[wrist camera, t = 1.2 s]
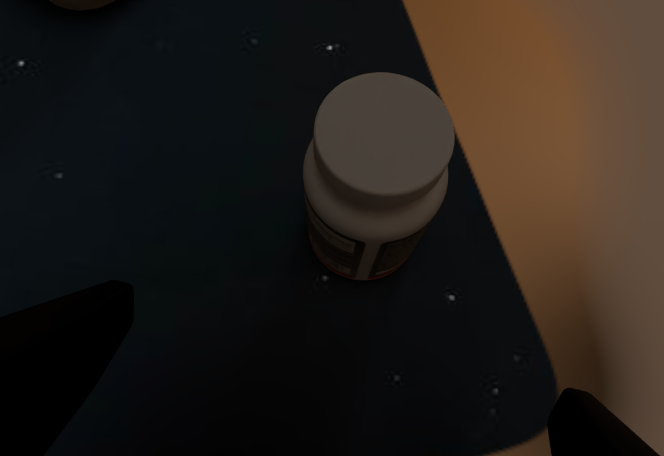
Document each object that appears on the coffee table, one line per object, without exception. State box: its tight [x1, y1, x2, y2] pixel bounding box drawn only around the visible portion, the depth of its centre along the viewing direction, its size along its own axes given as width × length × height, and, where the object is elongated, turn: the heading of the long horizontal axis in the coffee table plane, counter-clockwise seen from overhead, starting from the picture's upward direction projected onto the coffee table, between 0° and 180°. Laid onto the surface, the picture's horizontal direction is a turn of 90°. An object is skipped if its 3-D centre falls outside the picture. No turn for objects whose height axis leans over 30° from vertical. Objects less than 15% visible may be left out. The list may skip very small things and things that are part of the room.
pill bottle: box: [303, 72, 454, 280], centre depth 19 cm, size 6×6×10 cm
